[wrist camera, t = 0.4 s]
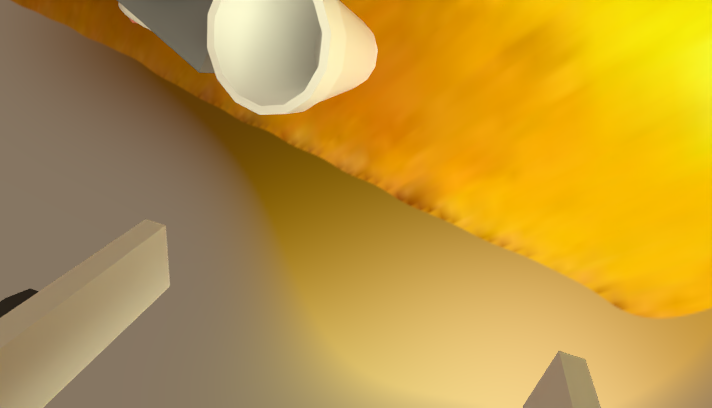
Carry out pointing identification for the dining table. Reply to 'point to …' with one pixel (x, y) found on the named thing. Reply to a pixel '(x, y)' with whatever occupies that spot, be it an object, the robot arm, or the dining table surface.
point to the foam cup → (287, 52)
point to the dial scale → (176, 26)
